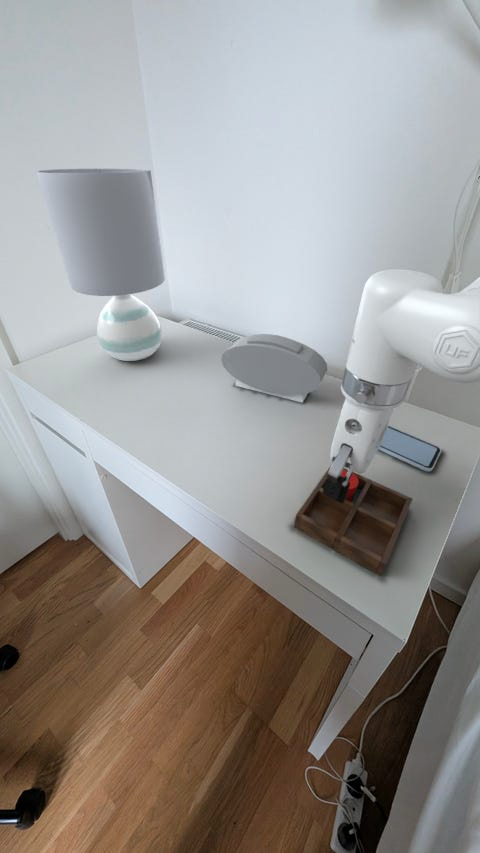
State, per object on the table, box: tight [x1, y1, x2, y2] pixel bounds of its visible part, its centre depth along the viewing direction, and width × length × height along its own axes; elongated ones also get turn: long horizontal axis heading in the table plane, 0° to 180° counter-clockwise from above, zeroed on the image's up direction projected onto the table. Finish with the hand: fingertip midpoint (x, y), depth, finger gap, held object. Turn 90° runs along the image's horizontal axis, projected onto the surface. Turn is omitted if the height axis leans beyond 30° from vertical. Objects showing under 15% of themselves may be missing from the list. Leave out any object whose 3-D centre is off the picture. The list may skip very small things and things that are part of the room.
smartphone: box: [378, 425, 442, 473], centre depth 64 cm, size 7×1×15 cm
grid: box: [293, 465, 413, 577], centre depth 51 cm, size 13×13×3 cm
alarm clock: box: [220, 333, 328, 403], centre depth 76 cm, size 23×6×13 cm, turn 65°
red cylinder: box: [341, 470, 359, 502], centre depth 53 cm, size 4×4×4 cm
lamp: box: [36, 167, 166, 362], centre depth 80 cm, size 22×22×40 cm
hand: (346, 477), depth 52 cm, fingers open, 9 cm apart
